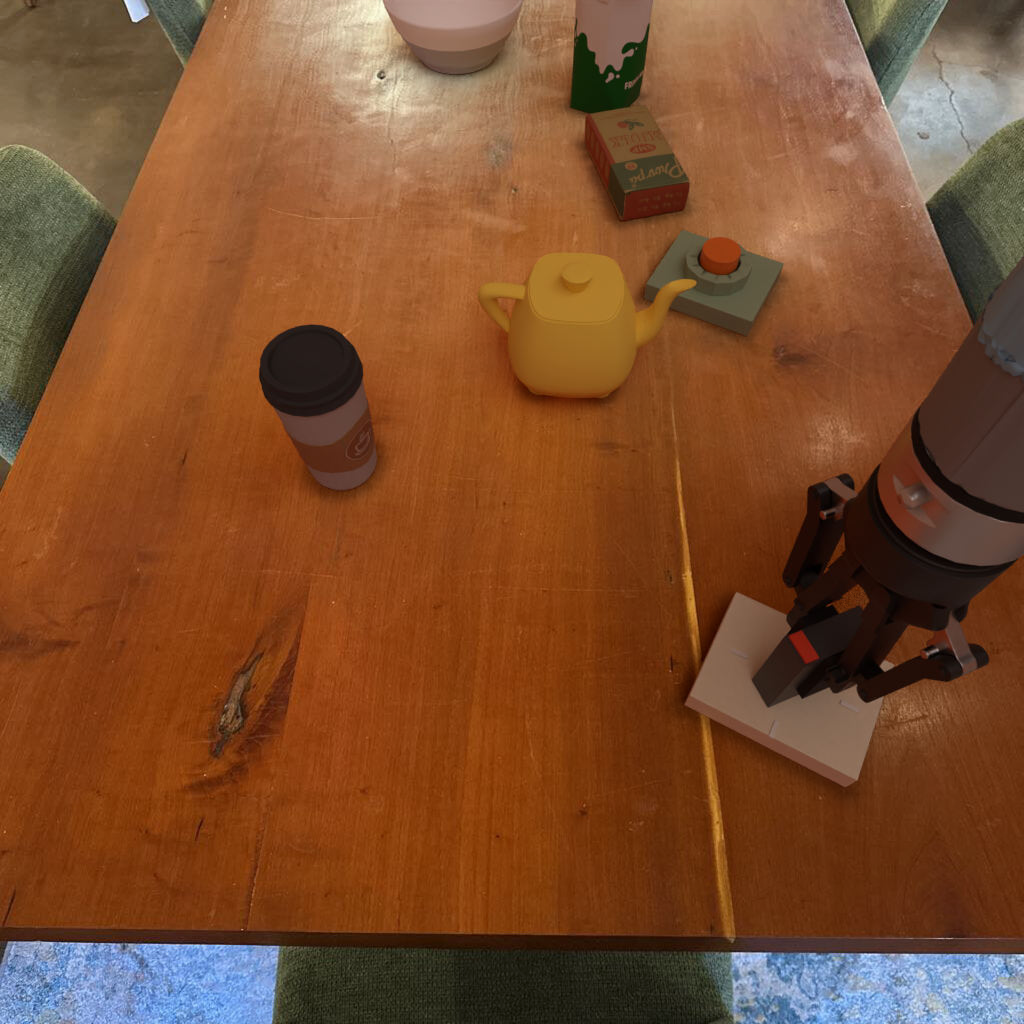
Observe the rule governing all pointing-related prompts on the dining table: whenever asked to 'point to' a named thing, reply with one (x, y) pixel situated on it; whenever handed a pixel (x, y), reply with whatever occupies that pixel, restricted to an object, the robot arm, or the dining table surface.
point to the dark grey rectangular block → (804, 655)
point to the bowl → (454, 30)
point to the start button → (720, 256)
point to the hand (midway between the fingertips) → (803, 668)
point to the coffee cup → (321, 403)
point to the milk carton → (609, 53)
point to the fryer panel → (789, 724)
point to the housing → (716, 285)
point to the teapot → (576, 324)
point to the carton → (635, 163)
